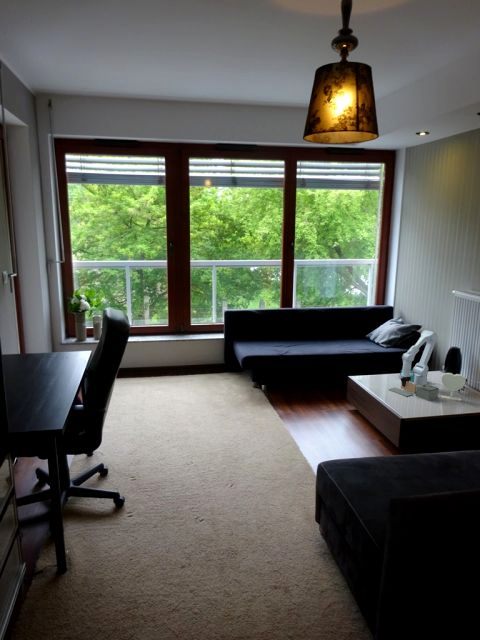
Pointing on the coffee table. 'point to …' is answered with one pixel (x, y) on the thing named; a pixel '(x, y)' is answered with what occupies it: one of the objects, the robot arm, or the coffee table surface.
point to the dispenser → (427, 392)
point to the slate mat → (400, 392)
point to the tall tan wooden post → (409, 387)
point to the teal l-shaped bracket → (411, 376)
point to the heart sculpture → (453, 383)
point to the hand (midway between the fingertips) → (404, 386)
